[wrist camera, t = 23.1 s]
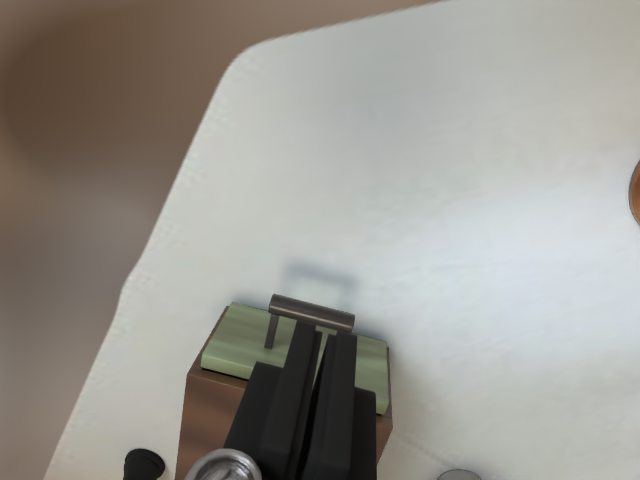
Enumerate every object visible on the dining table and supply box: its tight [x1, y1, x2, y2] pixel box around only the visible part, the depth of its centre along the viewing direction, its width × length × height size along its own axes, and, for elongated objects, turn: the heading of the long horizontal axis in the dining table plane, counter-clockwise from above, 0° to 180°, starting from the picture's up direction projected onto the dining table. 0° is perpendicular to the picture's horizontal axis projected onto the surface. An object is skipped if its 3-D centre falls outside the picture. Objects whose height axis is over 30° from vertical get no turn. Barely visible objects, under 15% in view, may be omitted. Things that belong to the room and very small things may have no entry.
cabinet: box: [175, 306, 393, 480], centre depth 36 cm, size 15×15×9 cm
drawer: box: [201, 294, 389, 415], centre depth 34 cm, size 18×13×7 cm
